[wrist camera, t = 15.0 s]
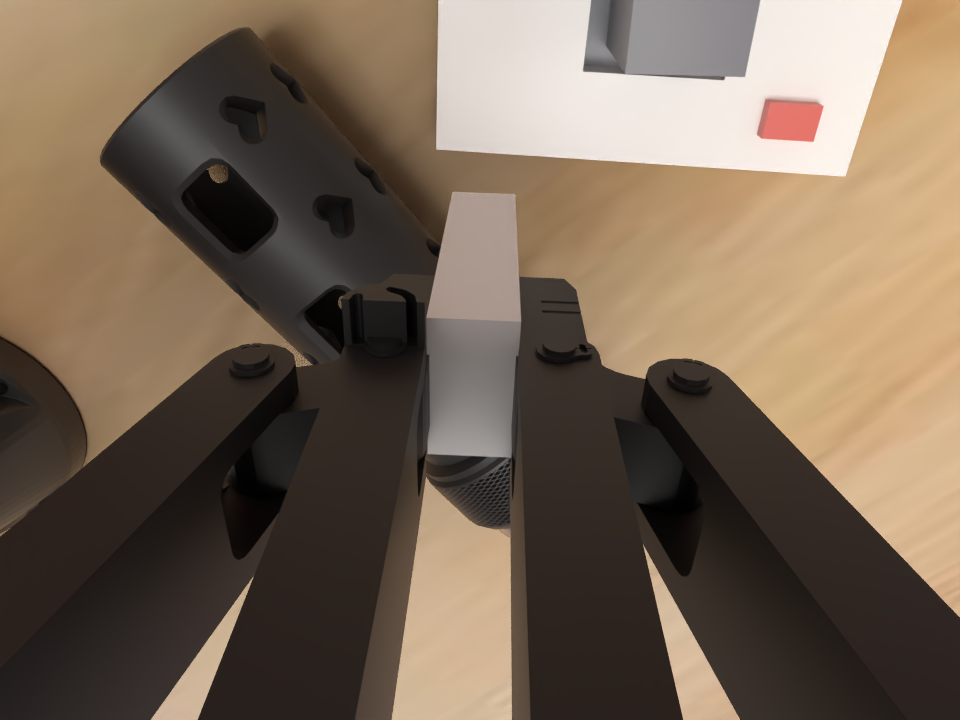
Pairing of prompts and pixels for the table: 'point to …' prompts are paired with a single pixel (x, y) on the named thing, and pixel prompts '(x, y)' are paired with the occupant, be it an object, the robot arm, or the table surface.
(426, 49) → the table surface
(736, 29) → the plug
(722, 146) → the socket plate
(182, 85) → the muzzle brake
